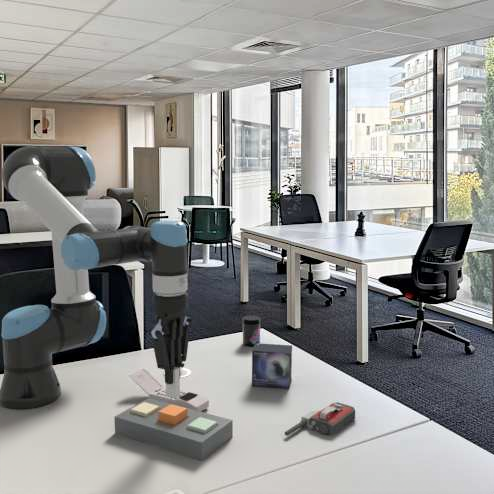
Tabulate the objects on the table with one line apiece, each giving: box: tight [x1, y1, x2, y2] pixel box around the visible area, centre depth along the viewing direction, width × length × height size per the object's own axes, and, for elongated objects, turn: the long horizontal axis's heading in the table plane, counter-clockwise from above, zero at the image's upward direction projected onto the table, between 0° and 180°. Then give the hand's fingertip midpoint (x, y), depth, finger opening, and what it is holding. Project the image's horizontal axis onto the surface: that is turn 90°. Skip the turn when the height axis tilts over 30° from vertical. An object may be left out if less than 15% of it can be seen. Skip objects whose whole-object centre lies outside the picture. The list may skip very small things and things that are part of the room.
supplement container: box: [242, 315, 261, 347], centre depth 197 cm, size 6×6×9 cm
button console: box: [114, 397, 234, 461], centre depth 133 cm, size 24×12×4 cm, turn 60°
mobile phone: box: [128, 368, 210, 412], centre depth 151 cm, size 6×6×25 cm
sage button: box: [188, 417, 217, 434], centre depth 129 cm, size 5×5×4 cm
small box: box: [251, 342, 293, 390], centre depth 163 cm, size 11×6×10 cm, turn 80°
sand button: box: [131, 402, 160, 417], centre depth 137 cm, size 5×5×4 cm
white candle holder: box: [163, 361, 192, 379], centre depth 172 cm, size 9×8×4 cm
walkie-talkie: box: [284, 401, 356, 437], centre depth 138 cm, size 9×4×20 cm
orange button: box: [158, 404, 187, 425], centre depth 133 cm, size 5×5×4 cm
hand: (173, 395), depth 132 cm, fingers closed
